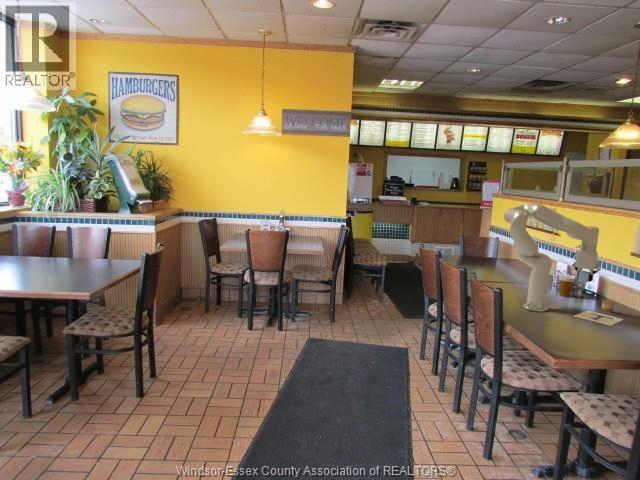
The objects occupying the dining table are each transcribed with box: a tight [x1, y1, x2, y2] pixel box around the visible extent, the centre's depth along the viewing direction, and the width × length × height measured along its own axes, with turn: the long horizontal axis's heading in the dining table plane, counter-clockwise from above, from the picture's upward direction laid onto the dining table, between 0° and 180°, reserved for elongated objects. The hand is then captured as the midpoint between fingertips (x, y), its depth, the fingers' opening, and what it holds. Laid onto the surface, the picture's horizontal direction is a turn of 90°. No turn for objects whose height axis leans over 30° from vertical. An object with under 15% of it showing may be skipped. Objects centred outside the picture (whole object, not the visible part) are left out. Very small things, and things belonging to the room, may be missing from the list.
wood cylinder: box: [601, 299, 615, 314], centre depth 253 cm, size 6×6×6 cm
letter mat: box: [573, 310, 624, 326], centre depth 241 cm, size 18×18×1 cm
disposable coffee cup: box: [558, 275, 576, 298], centre depth 286 cm, size 10×10×12 cm
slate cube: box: [577, 270, 590, 283], centre depth 254 cm, size 5×5×5 cm
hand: (584, 279), depth 254 cm, fingers closed on slate cube, 5 cm apart
